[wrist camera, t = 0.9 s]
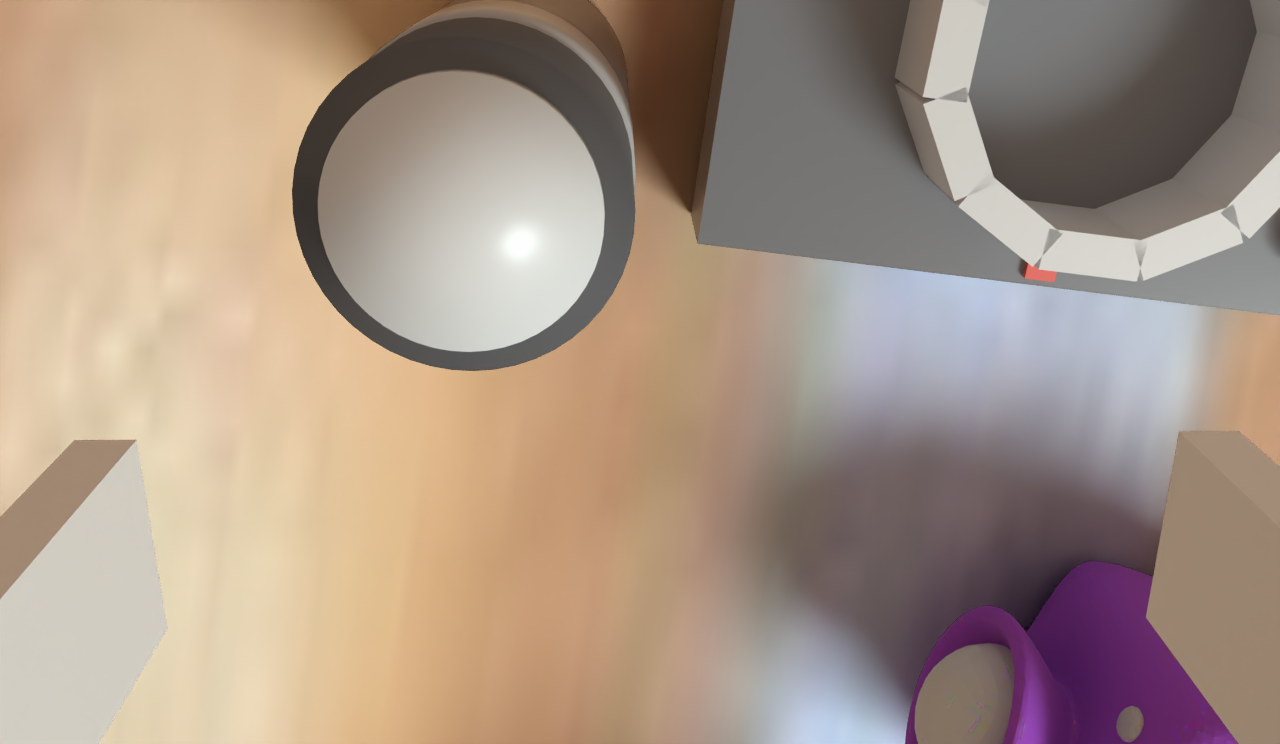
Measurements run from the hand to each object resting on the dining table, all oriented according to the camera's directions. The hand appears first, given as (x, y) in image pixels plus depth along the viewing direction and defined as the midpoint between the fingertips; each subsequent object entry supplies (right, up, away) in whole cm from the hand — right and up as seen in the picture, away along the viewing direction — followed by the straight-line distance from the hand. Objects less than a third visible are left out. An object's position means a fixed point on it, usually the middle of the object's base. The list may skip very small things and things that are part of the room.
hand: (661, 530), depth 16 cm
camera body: (+11, +11, +17) cm, 23 cm away
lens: (-3, +10, +17) cm, 20 cm away
